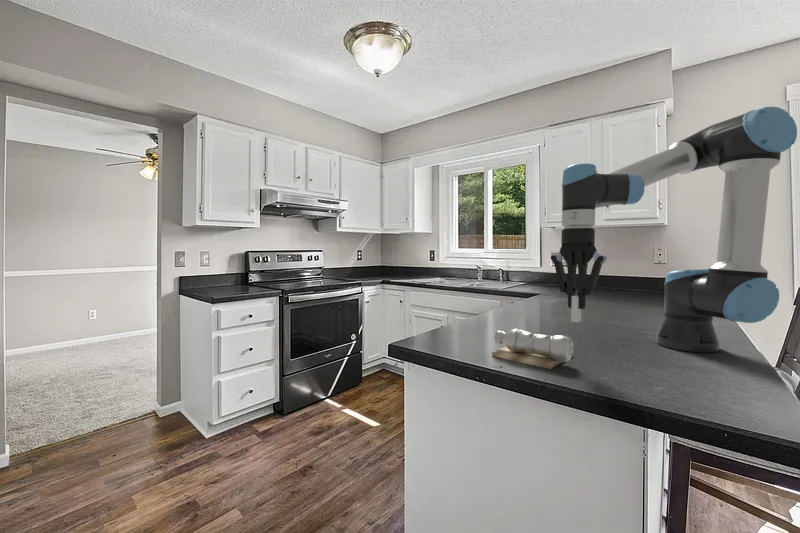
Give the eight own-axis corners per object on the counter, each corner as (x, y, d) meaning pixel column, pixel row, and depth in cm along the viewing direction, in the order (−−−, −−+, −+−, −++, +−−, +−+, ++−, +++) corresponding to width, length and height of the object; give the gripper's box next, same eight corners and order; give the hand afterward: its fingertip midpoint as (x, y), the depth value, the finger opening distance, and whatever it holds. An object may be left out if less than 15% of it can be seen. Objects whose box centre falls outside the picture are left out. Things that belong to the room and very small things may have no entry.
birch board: (572, 356, 102) (572, 351, 101) (550, 369, 91) (550, 364, 91) (517, 345, 113) (517, 341, 113) (492, 355, 102) (492, 351, 102)
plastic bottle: (573, 331, 92) (499, 320, 105) (566, 352, 88) (489, 338, 101) (577, 348, 95) (505, 335, 108) (570, 369, 92) (496, 353, 105)
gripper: (545, 228, 95) (544, 319, 96) (601, 226, 86) (599, 327, 87) (557, 229, 100) (556, 315, 101) (611, 227, 91) (609, 322, 92)
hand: (576, 321), depth 94 cm, fingers closed
